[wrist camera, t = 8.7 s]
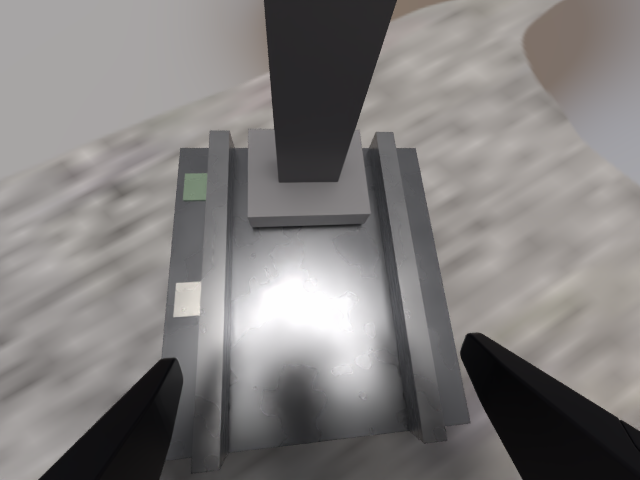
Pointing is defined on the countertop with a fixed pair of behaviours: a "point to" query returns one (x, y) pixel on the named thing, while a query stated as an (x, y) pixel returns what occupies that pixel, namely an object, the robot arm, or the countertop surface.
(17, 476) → the countertop surface
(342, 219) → the breaker handle
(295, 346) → the breaker housing
